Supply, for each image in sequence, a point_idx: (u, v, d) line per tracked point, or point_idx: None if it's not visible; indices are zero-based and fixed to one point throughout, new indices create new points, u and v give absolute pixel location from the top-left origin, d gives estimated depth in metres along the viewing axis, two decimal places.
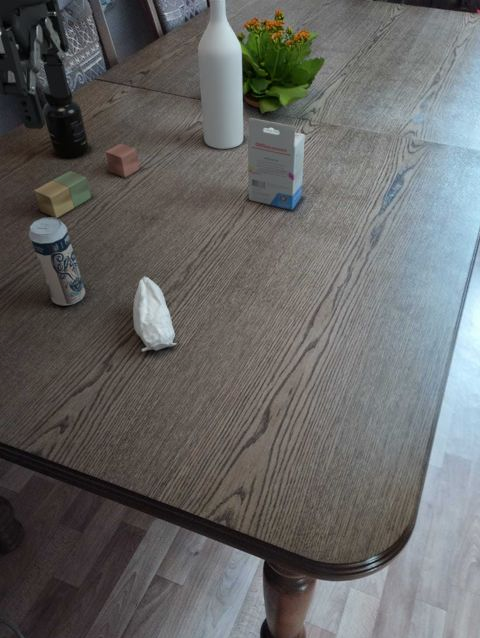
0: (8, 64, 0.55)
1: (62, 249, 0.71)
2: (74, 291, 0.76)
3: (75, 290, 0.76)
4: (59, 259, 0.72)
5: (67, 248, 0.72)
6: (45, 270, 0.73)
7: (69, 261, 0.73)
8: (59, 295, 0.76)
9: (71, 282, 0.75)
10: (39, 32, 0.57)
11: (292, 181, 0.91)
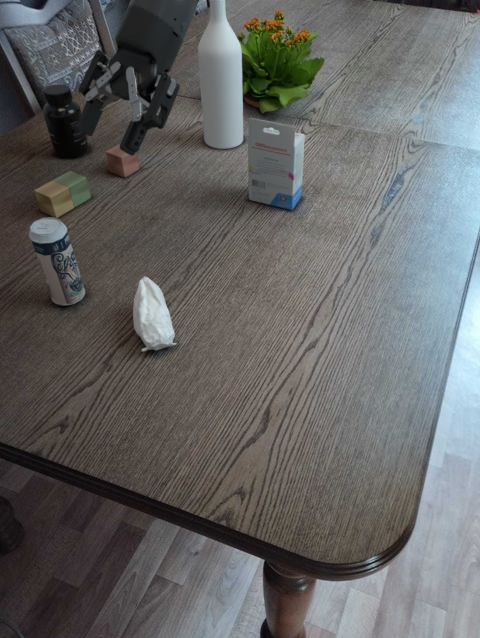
0: (168, 103, 0.68)
1: (62, 249, 0.71)
2: (74, 291, 0.76)
3: (75, 290, 0.76)
4: (59, 259, 0.72)
5: (67, 248, 0.72)
6: (45, 270, 0.73)
7: (69, 261, 0.73)
8: (59, 295, 0.76)
9: (71, 282, 0.75)
10: None
11: (292, 181, 0.91)
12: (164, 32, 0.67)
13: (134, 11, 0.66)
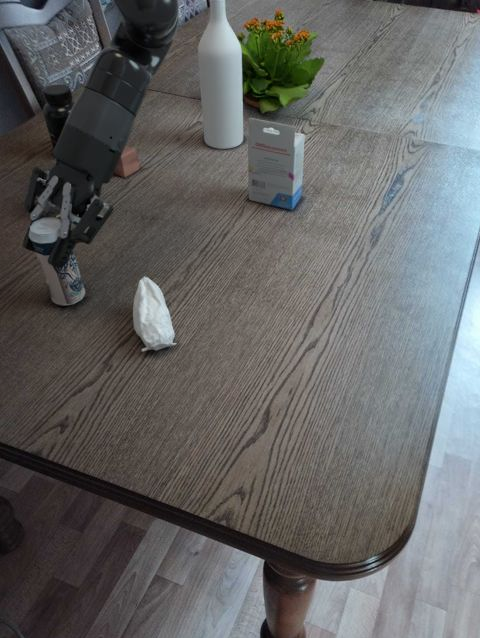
0: (98, 224, 0.69)
1: None
2: (74, 291, 0.76)
3: (75, 290, 0.76)
4: None
5: None
6: (45, 270, 0.73)
7: (69, 261, 0.73)
8: (59, 295, 0.76)
9: (71, 282, 0.75)
10: None
11: (292, 181, 0.91)
12: (100, 150, 0.67)
13: (70, 131, 0.67)
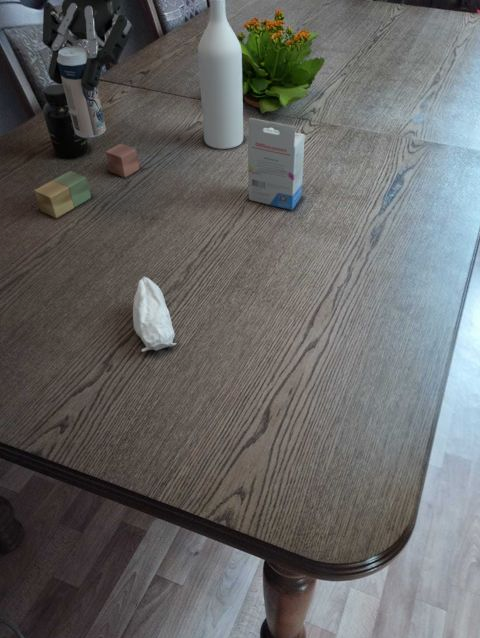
0: (122, 42, 0.77)
1: None
2: (99, 121, 0.84)
3: (100, 120, 0.84)
4: None
5: None
6: (75, 98, 0.80)
7: (95, 87, 0.81)
8: (87, 126, 0.83)
9: (97, 111, 0.83)
10: None
11: (292, 181, 0.91)
12: None
13: None
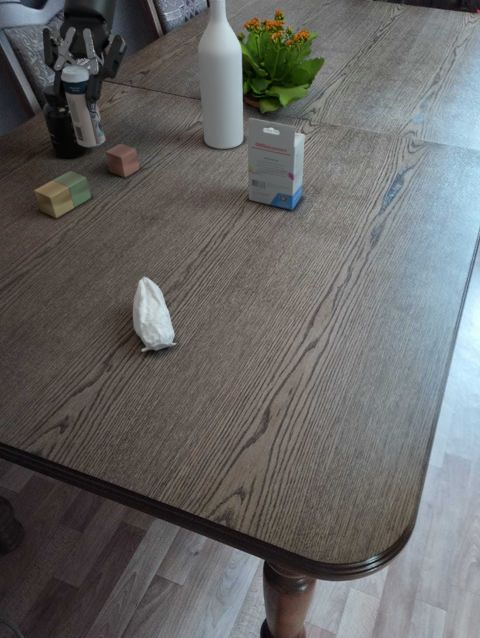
0: (119, 59, 0.87)
1: None
2: (100, 131, 0.93)
3: (101, 130, 0.93)
4: None
5: None
6: (79, 111, 0.89)
7: None
8: (91, 136, 0.92)
9: (98, 122, 0.92)
10: None
11: (292, 181, 0.91)
12: None
13: None
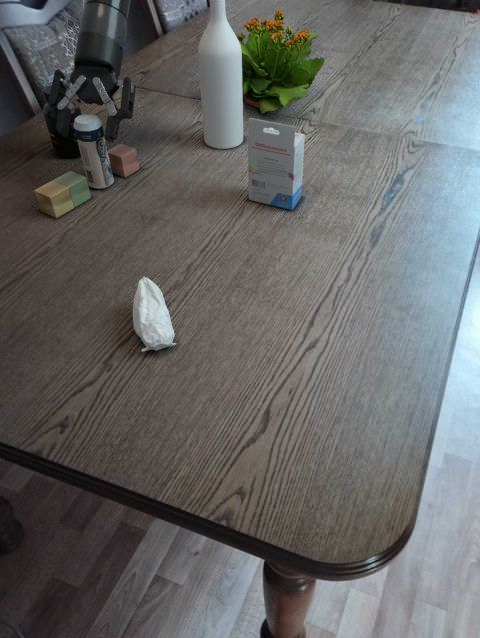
0: (132, 99, 0.92)
1: (102, 135, 0.94)
2: (110, 173, 0.99)
3: (110, 173, 0.99)
4: (101, 144, 0.94)
5: None
6: (90, 157, 0.95)
7: (106, 146, 0.95)
8: (100, 178, 0.98)
9: (108, 165, 0.97)
10: None
11: (292, 181, 0.91)
12: (115, 48, 0.90)
13: (90, 35, 0.89)
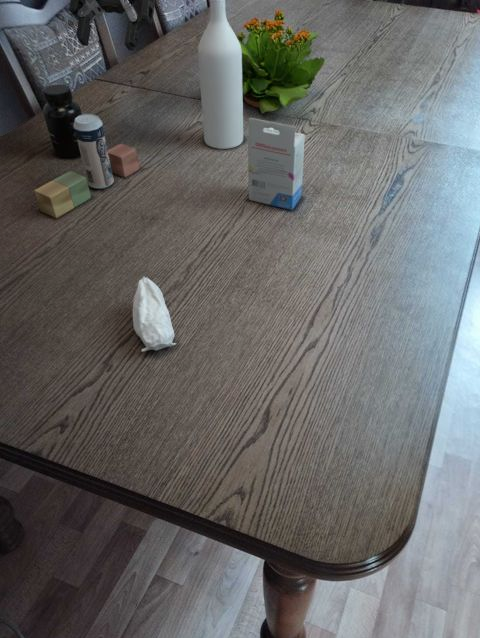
0: (152, 6, 0.93)
1: (102, 135, 0.94)
2: (110, 173, 0.99)
3: (110, 173, 0.99)
4: (101, 144, 0.94)
5: None
6: (90, 157, 0.95)
7: (106, 146, 0.95)
8: (100, 178, 0.98)
9: (108, 165, 0.97)
10: None
11: (292, 181, 0.91)
12: None
13: None
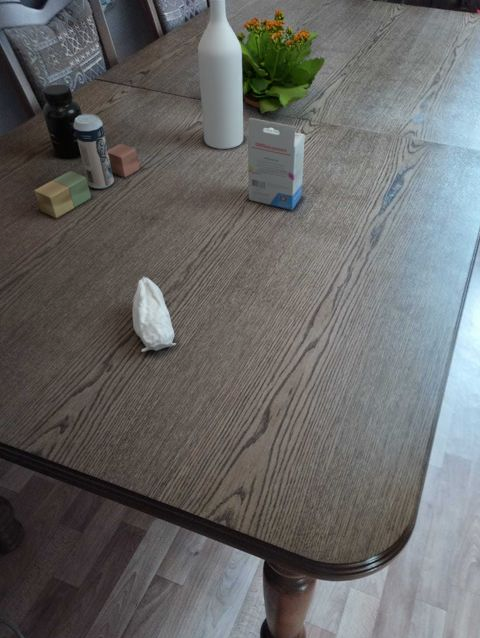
0: None
1: (102, 135, 0.94)
2: (110, 173, 0.99)
3: (110, 173, 0.99)
4: (101, 144, 0.94)
5: None
6: (90, 157, 0.95)
7: (106, 146, 0.95)
8: (100, 178, 0.98)
9: (108, 165, 0.97)
10: None
11: (292, 181, 0.91)
12: None
13: None
